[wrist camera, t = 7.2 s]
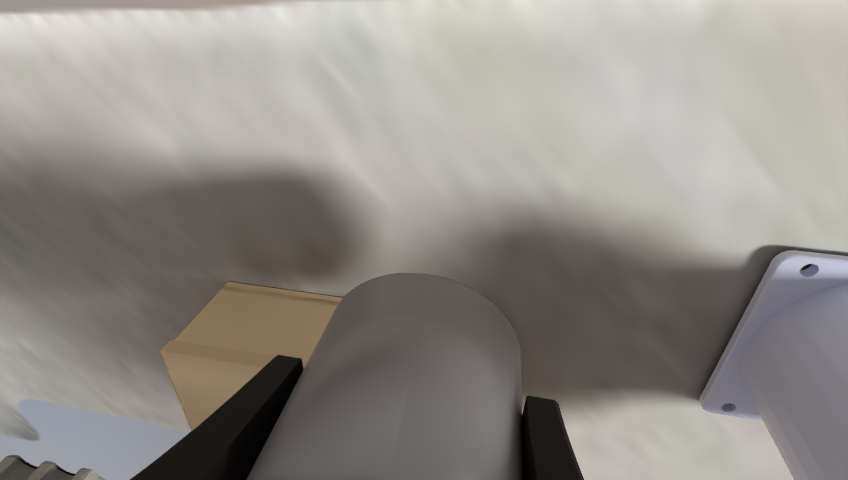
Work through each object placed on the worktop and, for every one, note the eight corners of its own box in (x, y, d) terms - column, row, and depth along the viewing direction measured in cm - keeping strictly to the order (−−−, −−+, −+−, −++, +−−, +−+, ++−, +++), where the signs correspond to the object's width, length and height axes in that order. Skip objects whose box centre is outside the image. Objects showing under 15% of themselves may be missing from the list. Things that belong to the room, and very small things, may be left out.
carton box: (509, 320, 19) (507, 397, 16) (480, 499, 27) (474, 577, 23) (227, 281, 21) (172, 342, 18) (273, 458, 28) (241, 525, 25)
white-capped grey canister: (504, 262, 10) (495, 475, 6) (533, 414, 13) (541, 642, 8) (301, 283, 12) (177, 469, 7) (363, 417, 14) (297, 613, 10)
